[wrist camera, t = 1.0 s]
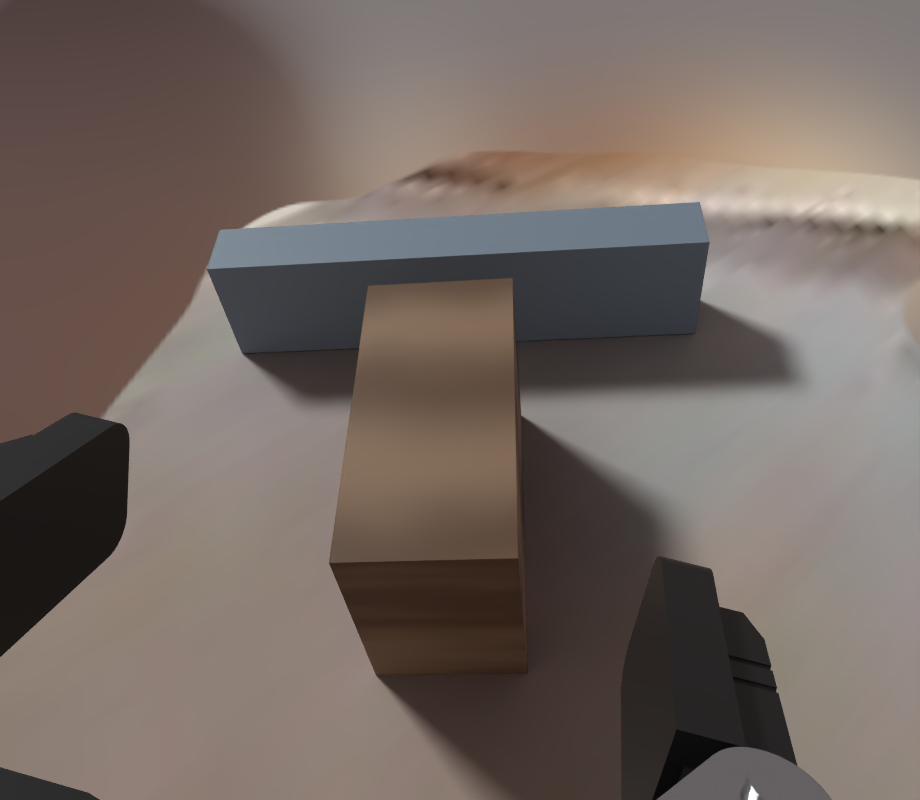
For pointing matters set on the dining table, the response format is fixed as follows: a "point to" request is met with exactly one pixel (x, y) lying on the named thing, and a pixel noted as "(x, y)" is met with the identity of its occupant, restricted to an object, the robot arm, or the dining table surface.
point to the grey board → (468, 272)
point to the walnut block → (435, 483)
